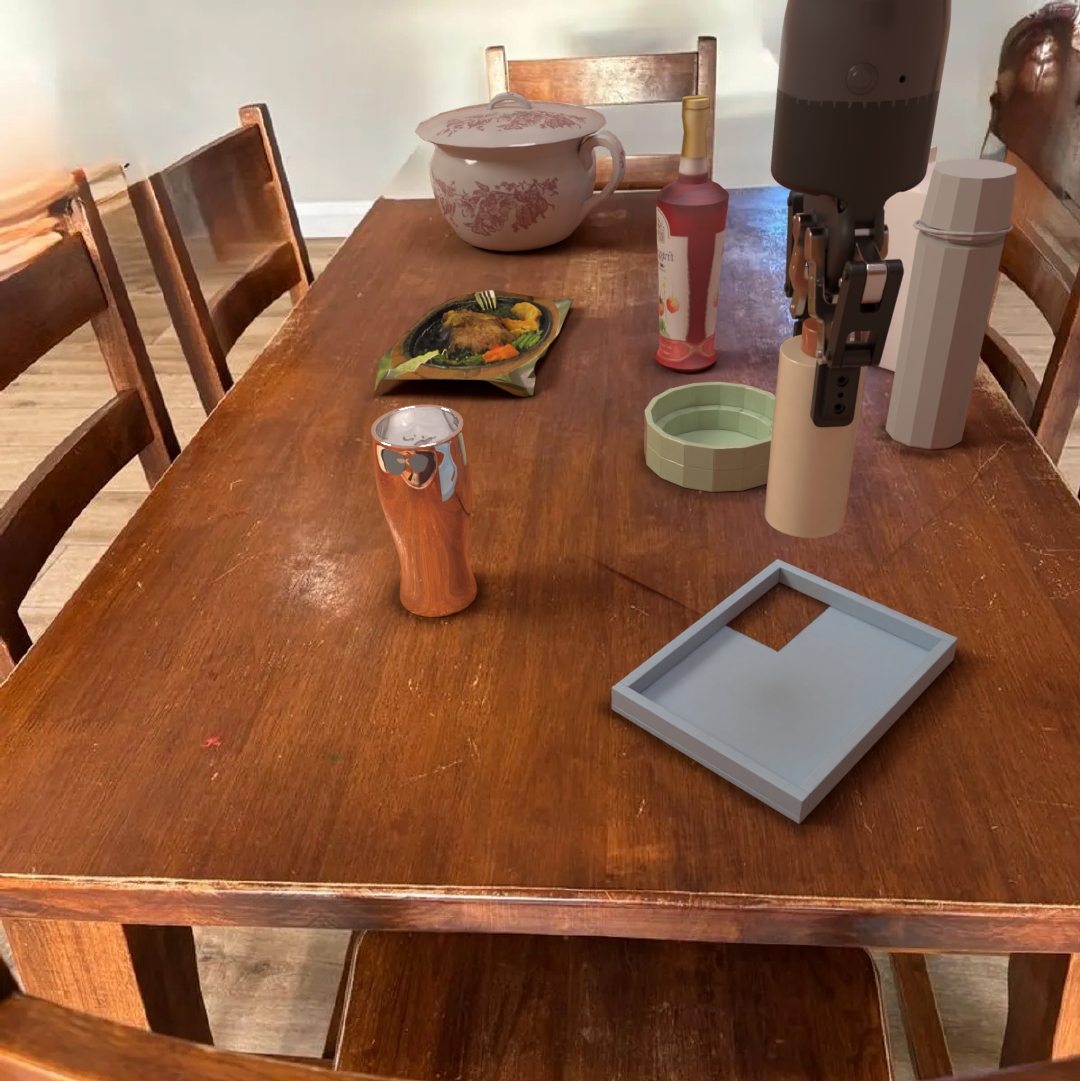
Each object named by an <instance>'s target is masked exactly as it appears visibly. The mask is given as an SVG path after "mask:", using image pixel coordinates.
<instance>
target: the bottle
mask: <svg viewBox="0 0 1080 1081" xmlns="http://www.w3.org/2000/svg"><path fill="white" fill-rule="evenodd" d="M853 340H854V337H852V333H850V334H849V335H848V336H847V340H846V341H853ZM816 349H817V321H816V320H815V319H814V318H812V317H810V318H808V319H806V320H805V321H804V322H803V327H802V335H798V336H794V337H793V336H792V337H789V338H787V339H786V340H784V341H783V342H782V343H781V344H780V347H779V354H778V364H777V375H776V386H775V394H774V395H775V405H774V416H773V427H772V437H771V448H770V458H769V469H768V479H767V484H766V490H765V492H766V493H765V502H764V511H763V512H764V513H763V514H764V515H763V516H764V518H765V520H766V522H767V523H768V525H770V527H772V528H773V529H774V530H776V531H778V532H780V533H782V534H783V535H784V534H785V535H787V536H791V537H795V538H802V539H819V538H824V537H828V536H831V535H833V534H836V533H837V532H839V531H840V530H841V529H842V528H843V526H844V524H845V522H846V514H847V508H848V501H849V495H850V487H851V480H852V475H853V467H854V461H855V455H856V454H855V453H856V448H857V440H858V433H859V426H860V421H861V415H862V414H861V413H862V407H863V401H864V400H863V399H864V392H865V386H866V380H867V373H868V367H869V366H866V367H861V372H860V379H859V386H858V393H857V400H856V407H855V413H854V419H853V421H852V423H851V424H849V425H848V426H844V427H822V428H820V427H817V426H815V425H814V423H813V421H812V419H811V417H810V412H811V404H812V395H813V387H814V378H815V370H816V361H817V359H816Z"/></svg>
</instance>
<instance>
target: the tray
mask: <svg viewBox="0 0 1080 1081" xmlns="http://www.w3.org/2000/svg"><path fill="white" fill-rule="evenodd" d="M779 583H780V584H782V585H785V586H787V587H789V588H791V589H793V590H795V591H798V592H799V593H802V594H804V595H807V596H809V597H811V598H813V599H815V600H818V601H820V602H822V603H824V604H827V605H829V606H828V607H827V608H826V609H824V611H822V612H821V613H820V614H819V615H818V616H817V617H815V619H813V620H812V621H811V622H810V623H809V624H807V625H806V626H805V627H804V628H803V629H802V630H800V631H799V632H798V633H797V634H796V635H794V637H792V638H791V639H790V640H789V641H788V642H787V643H786V644H784V645H783V646H782V647H781V648H780V649H779V650H776V649H774V648H773V647H772V648H771V647H770V646H768V645H766V644H764V643H762V642H760V641H758V640H756V639H754V638H753V637H750V636H749V635H747V634H744V633H742V632H740V631H738V630H736V629H734V628H732V627H730V626H728V625H727V624H729V623H730V622H731V621H732V620H734V619H735V618H736V617H737V616H739V615H740V614H741V613H742V612H744V611H745V610H746V609H747V608H749V607H750V606H751V605H752V604H754V603H755V602H756V601H757V600H759V599H760V598H761V597H762V596H764V595H765V594H766V593H767V592H769V591H770V590H771V589H772V588H773V587H775V586H776V585H777V584H779ZM958 641H959V638H958V637H956V636H954V635H952V634H949V633H948V632H946V631H942V630H940V629H938V628H936V627H935V626H931V625H929V624H926V623H925V622H922V621H921V620H917V619H915V618H913V617H912V616H911V617H910V616H909V615H906V614H904V613H902V612H899V611H897V610H896V609H893V608H890V607H888V606H886V605H884V604H881V603H879V602H877V601H874V600H872V599H870V598H868V597H866V596H863V595H861V594H858V593H857V592H854V591H852V590H850V589H847V588H845V587H843V586H840V585H838V584H836V583H833V582H831V581H829V580H827V579H824V578H822V577H821V576H817V575H816V574H813V573H810V572H809V571H806V570H804V569H801V568H799V567H797V566H794V565H793V564H790V563H788V562H785V561H784V560H781V559H779V558H777V559H776V560H774V561H773V562H771V563H770V564H768V565H767V567H765V568H764V569H762V570H761V571H760V572H759V573H757V574H756V575H755V576H754V577H752V578H751V579H750V580H748V581H747V582H746V583H744V584H743V585H742V586H740V587H739V588H738V589H737V590H736V591H734V592H733V593H731V594H730V595H728V597H727V598H725V599H724V600H722V601H721V602H720V603H718V604H717V605H716V606H715V607H714V608H712V609H710V610H709V611H708V612H707V613H705V614H704V615H703V616H702V617H701V618H700V619H698V620H697V621H695V622H694V623H693V624H691V625H690V626H689V627H688V628H686V629H685V630H684V631H683V632H681V633H680V634H679V635H677V636H676V637H675V638H673V639H672V640H671V641H670V642H668V643H667V644H665V645H664V646H663V647H662V648H660V649H659V650H658V651H656V653H654V654H652V656H650V657H649V658H648V659H647V660H645V661H644V662H642V663H641V664H640V665H639V666H637V667H636V668H635V669H633V670H632V671H630V672H629V673H628V674H627V675H625V677H623V678H622V679H620V680H619V681H618V682H617V683H616V684H615V685H613V686H612V687H611V710H612V711H614V712H615V713H617V714H619V715H620V716H622V717H624V718H625V719H627V720H629V721H630V722H631V723H633V724H635V725H637V726H638V727H640V728H641V729H643V730H645V731H646V732H648V733H649V734H651V735H653V736H655V737H657V739H659V740H661V741H663V742H665V744H667V745H668V746H671V747H673V748H674V749H675V750H677V751H679V752H681V753H682V754H684V755H686V756H687V757H689V758H690V759H692V760H694V761H695V762H697V763H698V764H700V765H702V766H703V767H705V768H706V769H709V770H710V771H711V772H713V773H715V774H717V775H718V776H720V777H721V778H723V779H724V780H726V781H728V782H730V783H731V784H733V785H734V786H736V787H738V788H739V789H742V791H744V792H745V793H747V794H748V795H751V796H752V797H754V798H755V799H757V800H758V801H761V802H762V803H764V804H766V805H767V806H768V807H770V808H771V809H773V810H775V811H777V812H779V813H780V814H782V815H783V816H785V817H787V818H789V819H790V820H791V821H793V822H794V823H797V824H798V825H800V824H802V822H803V821H804V820H805V819H806V818H807V817H808V815H810V813H811V812H812V811H813V810H814V809H816V807H817V806H818V805H819V804H820V803H821V802H822V801H823V800H824V799H825V797H826V796H827V795H828V794H829V793H830V792H831V791H832V790H833V789H834V788H835V787H836V786H837V785H838V784H839V782H840V781H841V780H842V779H843V778H844V777H845V776H846V775H847V774H848V773H849V772H850V771H851V770H852V769H853V768H854V767H855V765H856V764H857V763H858V762H859V761H860V760H861V759H862V758H863V757H864V756H865V755H866V754H867V752H869V751H870V750H871V748H872V747H873V746H874V745H875V744H876V743H877V742H878V741H879V740H880V739H881V737H882V736H884V734H886V732H887V731H888V730H889V729H890V728H891V727H892V726H893V725H894V724H895V723H896V721H898V720H899V718H900V717H901V716H902V715H903V714H904V713H905V712H906V711H907V710H908V709H909V708H910V707H911V706H912V704H914V703H915V701H916V700H917V699H918V698H919V697H920V696H921V695H922V694H923V693H924V692H925V691H926V690H927V689H928V688H929V687H930V685H931V684H932V683H933V682H934V681H935V680H936V679H937V678H938V677H939V676H940V675H941V674H942V672H943V671H945V669H946V668H947V667H948V666H949V665H950V664H951V663H952V662H953V661H954V659H955V653H956V650H957V644H958Z"/></svg>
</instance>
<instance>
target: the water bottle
mask: <svg viewBox="0 0 1080 1081" xmlns="http://www.w3.org/2000/svg"><path fill="white" fill-rule="evenodd" d="M1017 169H1018V168H1017V167H1016V166H1014V165H1013V164H1010V163H1007V162H1003V161H999V160H993V159H986V158H985V159H984V158H969V157H968V158H957V159H956V158H955V159H946V160H943V161H940V162H937V163H936V165H935V167H934V169H933V173H932V177H931V181H930V184H929V188H928V192H927V196H926V200H925V203H924V207H923V211H922V215H921V218H920V219H919V220H916V221H915V222H914V223H913V226H914V227H915V229H918V230H920V231H919V233H918V236H917V241H916V247H915V253H914V259H913V265H912V272H911V278H910V284H909V290H908V296H907V302H906V308H905V314H904V320H903V326H902V332H901V338H900V344H899V350H898V357H897V363H896V369H895V372H894V376H893V381H892V388H891V394H890V399H889V406H888V412H887V418H886V423H885V432H886V433H887V434H888V435H889V436H890V437H891V438H892V440H893V441H895V442H897V443H900V444H902V445H904V446H906V447H909V448H913V449H919V450H920V449H921V450H926V451H932V450H944V449H949V448H952V447H953V446H956V445H957V444H959V443H961V442H962V441H963V437H964V431H965V426H966V422H967V417H968V413H969V408H970V403H971V400H972V394H973V390H974V385H975V381H976V377H977V372H978V367H979V361H980V357H981V352H982V347H983V343H984V338H985V333H986V329H987V324H988V319H989V314H990V311H991V305H992V300H993V296H994V291H995V286H996V281H997V276H998V273H999V269H1000V268H999V267H1000V264H1001V258H1002V254H1003V249H1004V245H1005V241H1006V235H1008V233H1010V232H1011V231H1012V230H1013V229H1014V226H1013V225H1012V224H1011V221H1012V213H1013V205H1014V196H1015V188H1016V187H1015V186H1016V179H1017V172H1018V171H1017ZM917 224H918V225H917Z"/></svg>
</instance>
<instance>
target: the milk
mask: <svg viewBox="0 0 1080 1081" xmlns="http://www.w3.org/2000/svg"><path fill="white" fill-rule="evenodd" d="M937 153H938V146H937V145H934V146H931V148H930V154H929V160H928V167H927V172H926V175H925V177H924V179H923V180H922V182H921V183H920V184H918V185H917V186H916V187H914V188H912V189H910V190H908V191H905V192H898V193H896V194H895V195H893V196H892V197H890V198H889V199H888V200H887V201H886V202H885V205H884V211H885V216H884V224H887V226H888V230H889V244H888V254H887V256H886V258H885V259H884V260H888V259H901V261H902V263H903V268H904V275H903V278H902V282H901V286H900V290H899V294H898V297H897V301H896V305H895V309H894V313H893V316H892V320H891V324H890V328H889V331H888V335H887V339H886V343H885V346H884V350H883V354H882V358H881V362H880V364H879V366H877V367H879V368H882V369H886V370H889V371H892V372H894V373H895V369H896V363H897V357H898V350H899V344H900V338H901V332H902V326H903V320H904V314H905V308H906V302H907V296H908V290H909V284H910V278H911V272H912V265H913V259H914V253H915V247H916V241H917V236H918V233H919V231H920V230H918V229H915V227H914V226H913V223H914V222H915V221H916V220H919V219H920V218H921V215H922V211H923V207H924V203H925V200H926V196H927V192H928V188H929V184H930V181H931V177H932V173H933V169H934V167H935V165H936V163H938V162H937V161H936V160H937ZM917 225H918V224H917Z"/></svg>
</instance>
